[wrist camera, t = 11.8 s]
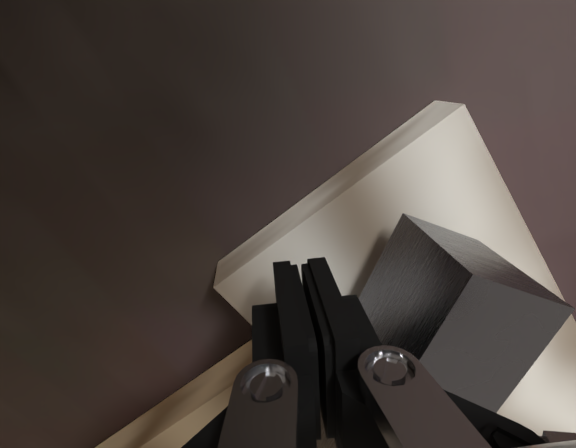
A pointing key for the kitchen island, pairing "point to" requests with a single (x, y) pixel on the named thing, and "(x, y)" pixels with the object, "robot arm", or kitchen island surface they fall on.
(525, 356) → the bar
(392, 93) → the kitchen island surface
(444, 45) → the kitchen island surface
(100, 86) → the kitchen island surface
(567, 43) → the kitchen island surface
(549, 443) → the robot arm
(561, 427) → the door and jamb
